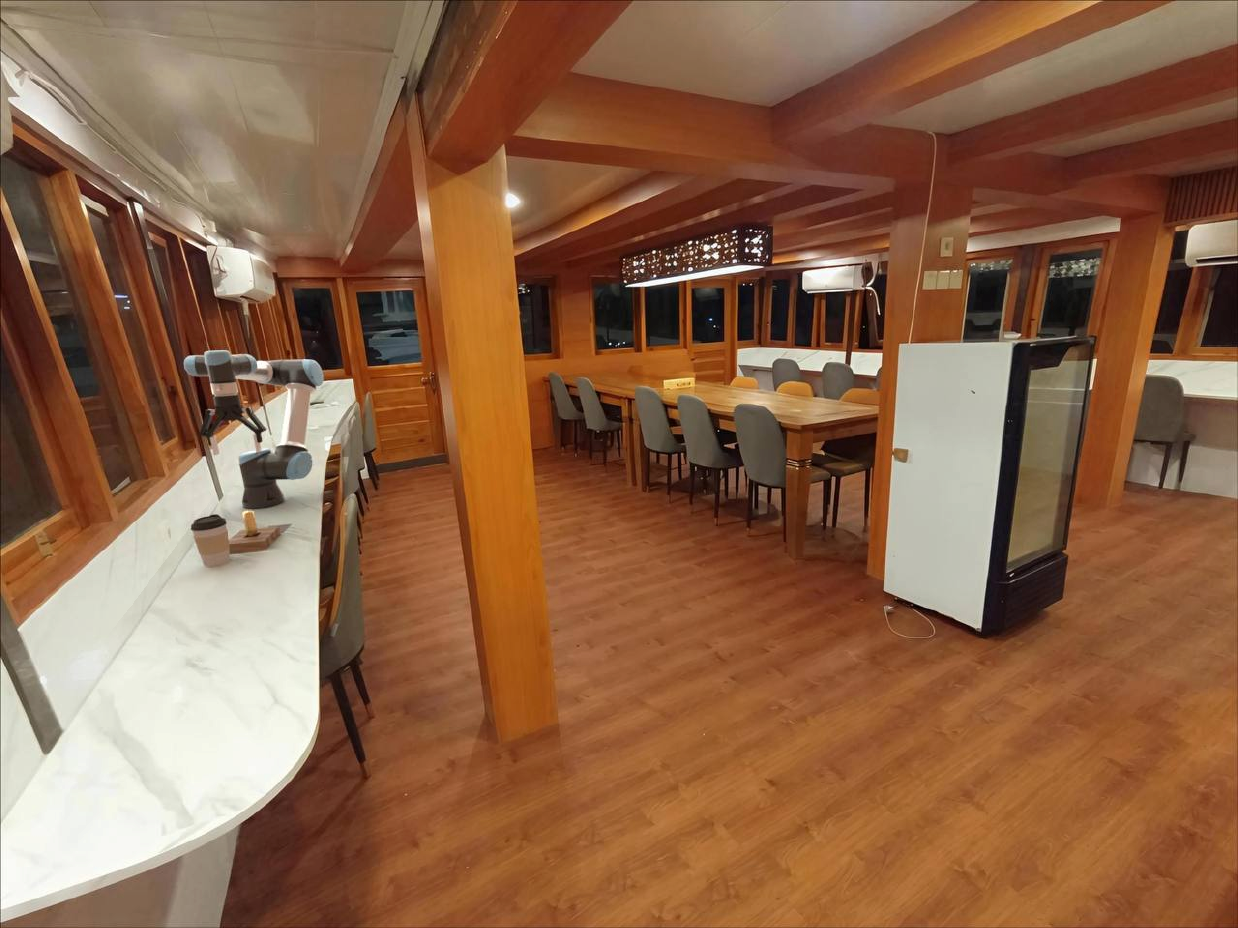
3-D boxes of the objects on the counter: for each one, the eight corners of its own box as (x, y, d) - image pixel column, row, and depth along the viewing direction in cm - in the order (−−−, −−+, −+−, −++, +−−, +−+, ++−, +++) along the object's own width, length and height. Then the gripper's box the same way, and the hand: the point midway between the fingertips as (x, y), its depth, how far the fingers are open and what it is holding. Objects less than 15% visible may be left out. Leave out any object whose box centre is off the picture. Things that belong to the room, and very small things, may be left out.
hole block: (243, 538, 187) (241, 529, 186) (280, 535, 190) (279, 526, 189) (225, 554, 174) (223, 544, 173) (266, 550, 177) (264, 540, 176)
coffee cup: (220, 568, 164) (210, 522, 160) (192, 568, 164) (181, 523, 161) (241, 556, 173) (232, 512, 169) (214, 556, 173) (204, 513, 169)
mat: (268, 526, 199) (268, 525, 199) (292, 524, 201) (292, 523, 201) (258, 536, 189) (258, 535, 189) (283, 533, 191) (283, 532, 191)
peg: (251, 543, 183) (244, 510, 180) (261, 542, 184) (255, 509, 181) (247, 546, 180) (240, 513, 177) (257, 545, 181) (251, 512, 178)
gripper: (179, 397, 181) (193, 457, 186) (261, 394, 187) (272, 452, 192) (190, 395, 188) (203, 453, 193) (269, 391, 194) (279, 447, 199)
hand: (238, 452), depth 193 cm, fingers open, 13 cm apart
